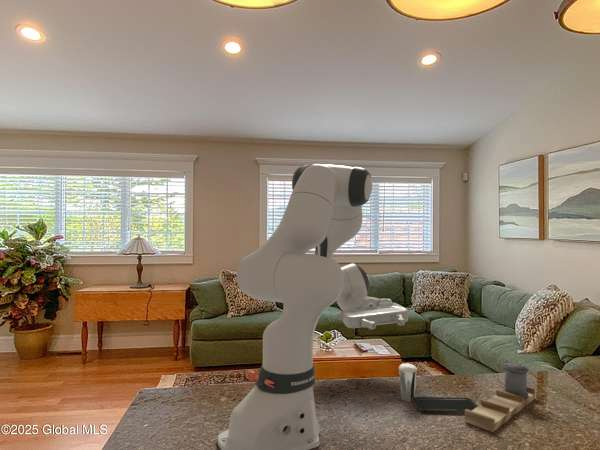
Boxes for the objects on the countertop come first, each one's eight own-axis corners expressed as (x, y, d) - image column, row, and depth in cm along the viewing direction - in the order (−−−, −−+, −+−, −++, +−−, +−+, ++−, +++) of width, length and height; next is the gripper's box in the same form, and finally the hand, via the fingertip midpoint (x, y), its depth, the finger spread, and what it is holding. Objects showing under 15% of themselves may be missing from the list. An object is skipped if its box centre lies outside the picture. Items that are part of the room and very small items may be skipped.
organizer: (492, 432, 90) (493, 419, 90) (464, 421, 95) (464, 410, 95) (534, 398, 107) (534, 388, 107) (509, 391, 112) (509, 381, 112)
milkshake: (421, 403, 104) (421, 364, 104) (399, 402, 105) (399, 363, 105) (418, 396, 108) (419, 358, 109) (398, 395, 109) (398, 357, 109)
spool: (523, 400, 103) (523, 372, 103) (499, 393, 107) (499, 366, 107) (531, 394, 107) (531, 367, 107) (508, 387, 111) (508, 361, 111)
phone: (411, 396, 107) (470, 397, 106) (411, 401, 107) (470, 402, 106) (419, 410, 99) (482, 411, 98) (419, 415, 99) (482, 416, 98)
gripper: (335, 304, 127) (355, 317, 114) (393, 298, 133) (418, 310, 120) (335, 324, 128) (355, 339, 115) (393, 317, 134) (418, 331, 121)
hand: (388, 324), depth 117 cm, fingers open, 8 cm apart
